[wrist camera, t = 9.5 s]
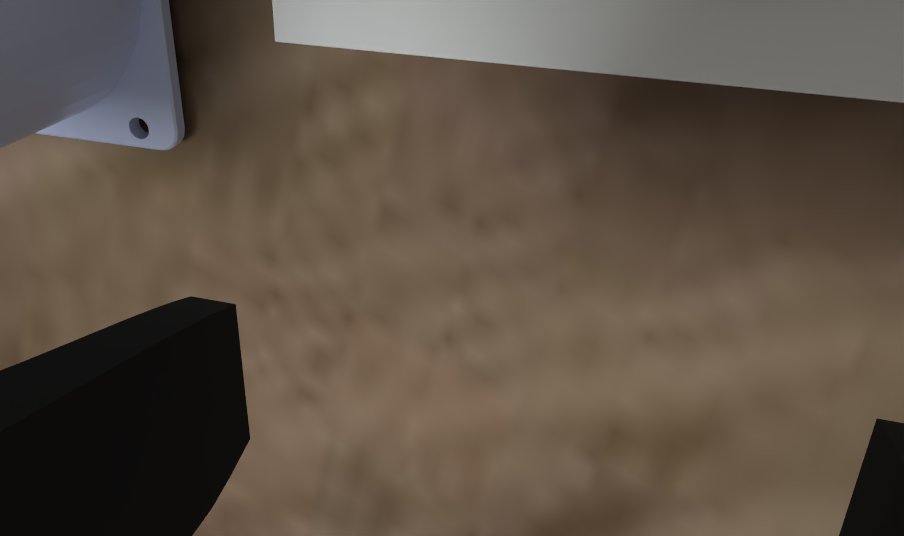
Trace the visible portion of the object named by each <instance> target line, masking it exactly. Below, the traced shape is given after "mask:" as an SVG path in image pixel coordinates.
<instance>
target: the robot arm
mask: <svg viewBox="0 0 904 536" xmlns="http://www.w3.org/2000/svg"><path fill="white" fill-rule="evenodd" d="M139 118H140V119H143V120H144V122H145V123H146V124H147V126H148V128H149V133H146V132H145V131H144V130H143V129H142V128H141V126H140V124H139ZM34 133H36V134H43V135H51V136H58V137H66V138H73V139H81V140H88V141H95V142H103V143H110V144H118V145H125V146H133V147H140V148H148V149H155V150H169V149H171V148H173V147H174V146H176V145H178V144H179V143H181V142H182V140H183V138H184V134H185V126H184V118H183V110H182V102H181V94H180V87H179V79H178V71H177V63H176V55H175V47H174V39H173V31H172V23H171V15H170V7H169V0H0V148H2V147H4V146H7V145H9V144H11V143H13V142H16V141H18V140H20V139H22V138H25V137H27V136H29V135H31V134H34ZM249 440H250V434H249V424H248V415H247V406H246V396H245V387H244V378H243V369H242V359H241V350H240V341H239V332H238V322H237V313H236V304H231V303H225V302H219V301H214V300H208V299H203V298H197V297H188V298H184V299H181V300H178V301H174V302H171V303H168V304H165V305H163V306H160V307H157V308H155V309H152V310H149V311H147V312H144V313H141V314H139V315H136V316H134V317H131V318H129V319H126V320H124V321H121V322H119V323H116V324H114V325H112V326H109V327H107V328H104V329H102V330H99V331H97V332H95V333H92V334H90V335H87V336H85V337H82V338H80V339H77V340H75V341H73V342H70V343H68V344H65V345H63V346H60V347H58V348H56V349H53V350H51V351H48V352H46V353H43V354H41V355H38V356H36V357H34V358H31V359H29V360H26V361H24V362H21V363H19V364H16V365H14V366H11V367H8V368H6V369H3V370H0V536H192V535H193V534H194V532H195V531H196V530H197V528H198V527H199V525H200V524H201V523H202V521H203V520H204V518H205V517H206V516H207V514H208V513H209V511H210V510H211V509H212V507H213V505H214V504H215V502H216V500H217V498H218V497H219V495H220V493H221V492H222V490H223V488H224V486H225V485H226V483H227V481H228V479H229V478H230V476H231V474H232V472H233V470H234V468H235V466H236V465H237V463H238V461H239V459H240V457H241V455H242V453H243V451H244V449H245V447H246V446H247V444H248V442H249ZM839 536H904V423H899V422H893V421H887V420H882V419H877V420H876V423H875V426H874V429H873V432H872V435H871V438H870V442H869V445H868V448H867V451H866V454H865V457H864V460H863V463H862V466H861V469H860V473H859V476H858V479H857V482H856V485H855V488H854V491H853V494H852V497H851V500H850V504H849V507H848V510H847V513H846V516H845V519H844V522H843V525H842V528H841V531H840V535H839Z"/></svg>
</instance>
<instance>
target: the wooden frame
mask: <svg viewBox="0 0 904 536" xmlns="http://www.w3.org/2000/svg"><path fill="white" fill-rule="evenodd" d="M272 5H273V19H274V33H275V42H284V43H294V44H305V45H315V46H325V47H336V48H346V49H356V50H366V51H377V52H387V53H397V54H408V55H418V56H428V57H438V58H449V59H459V60H469V61H480V62H490V63H500V64H510V65H521V66H531V67H541V68H552V69H562V70H572V71H582V72H593V73H603V74H613V75H624V76H634V77H644V78H655V79H665V80H675V81H685V82H696V83H706V84H716V85H727V86H737V87H747V88H757V89H768V90H778V91H788V92H799V93H809V94H819V95H829V96H840V97H850V98H860V99H871V100H881V101H891V102H901V103H904V0H272Z"/></svg>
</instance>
